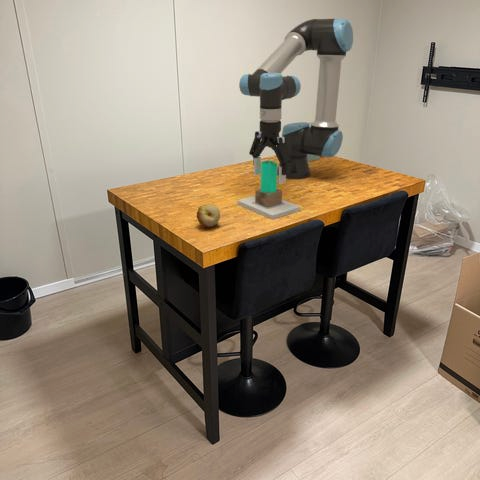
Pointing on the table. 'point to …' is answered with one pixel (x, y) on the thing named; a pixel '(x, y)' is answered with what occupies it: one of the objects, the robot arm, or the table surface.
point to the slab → (271, 211)
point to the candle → (268, 176)
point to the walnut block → (268, 198)
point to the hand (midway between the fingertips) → (269, 178)
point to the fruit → (208, 215)
